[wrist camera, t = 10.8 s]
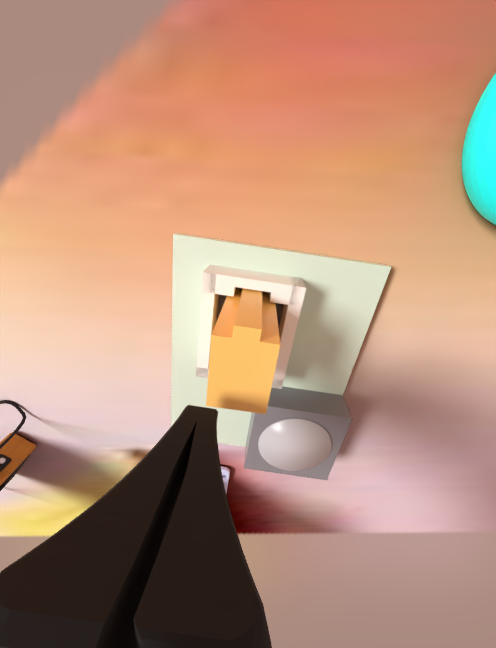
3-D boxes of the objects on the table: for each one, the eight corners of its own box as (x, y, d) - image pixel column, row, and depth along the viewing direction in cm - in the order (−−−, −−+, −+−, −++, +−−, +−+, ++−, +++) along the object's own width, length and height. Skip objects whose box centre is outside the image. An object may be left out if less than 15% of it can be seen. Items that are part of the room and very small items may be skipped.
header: (279, 370, 20) (281, 389, 18) (202, 359, 20) (196, 376, 18) (301, 278, 17) (306, 287, 15) (209, 264, 17) (202, 272, 15)
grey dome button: (320, 453, 24) (327, 481, 21) (245, 443, 24) (243, 469, 21) (342, 395, 21) (353, 420, 18) (257, 382, 21) (256, 405, 18)
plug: (264, 346, 19) (265, 416, 13) (224, 340, 19) (205, 408, 13) (275, 285, 17) (283, 332, 11) (231, 279, 17) (212, 322, 11)
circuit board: (317, 450, 25) (319, 457, 24) (173, 429, 24) (170, 435, 24) (385, 264, 17) (391, 267, 16) (177, 232, 17) (173, 234, 16)
